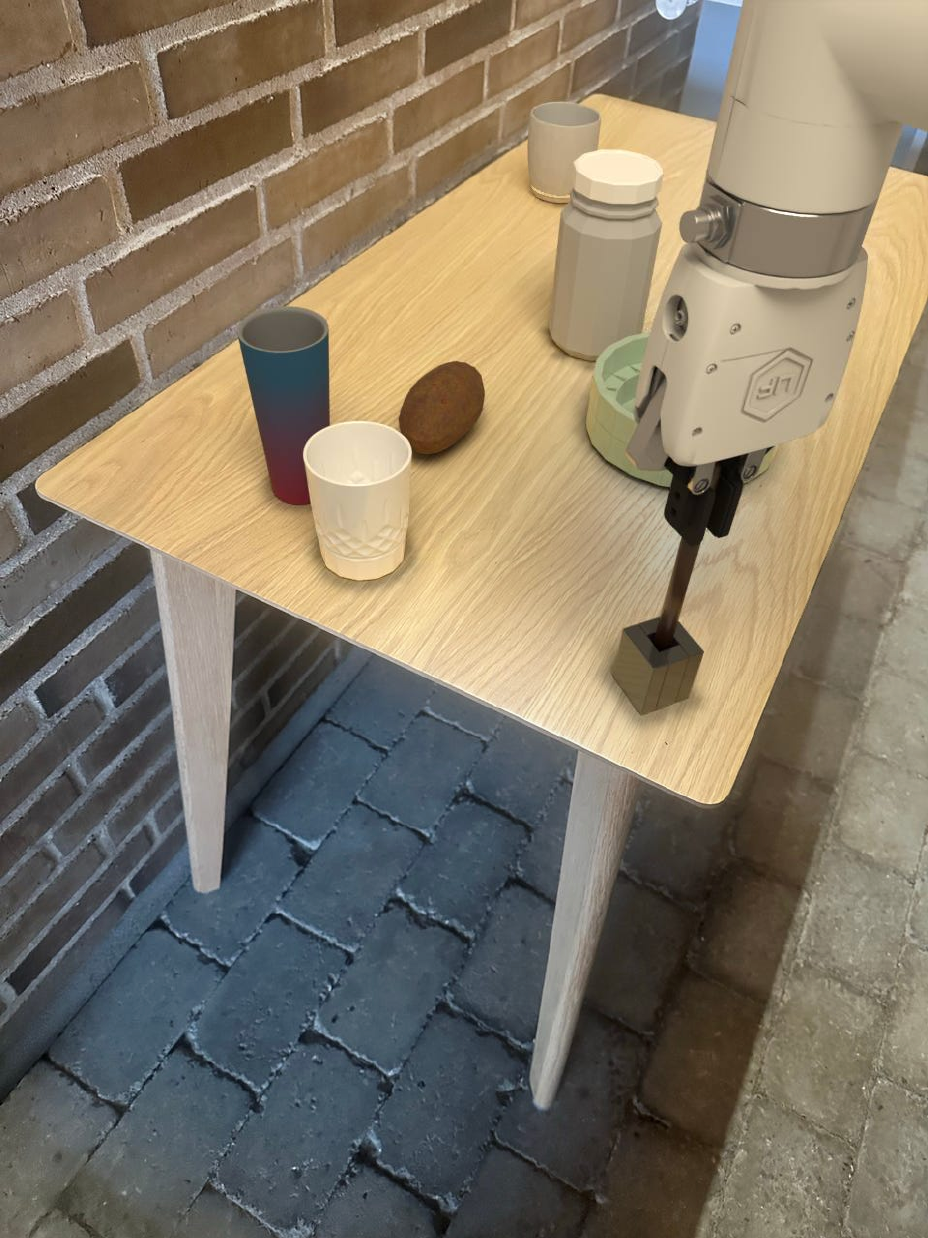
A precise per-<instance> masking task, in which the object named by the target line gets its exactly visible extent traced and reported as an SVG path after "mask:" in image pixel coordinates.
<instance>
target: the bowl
mask: <svg viewBox="0 0 928 1238" xmlns="http://www.w3.org/2000/svg"><path fill="white" fill-rule="evenodd" d="M649 335H650V331H646V332H642V333H641V334H637V335H632V336H628V337H626V338H624V339H622V340H620V341H618V342H616V343H614V344H612V345H610V346H608V347H607V348H606V350H605V351H604V352H603V353H602V354H601V355H600V356H599V357H598V358H597V360H596V361H595V364H594V369H593V373H592V379H591V387H590V393H589V399H588V406H587V412H586V420H585V428H586V431H587V433H588V437H589V440H590V442H591V445H592V446H593V447H594V448H595V449H596V450H597V452H599V454H600V455H601V456H602V457H603V458H604V459H605V460H606V461H608V462H609V463H610V464H612V465H613V466H616V467H617V468H619V469H620V470H621V471H623V472H625V473H626V474H628V475H629V476H632V477H634V478H637V479H639V480H643V481H645V482H648V483H650V484H651V483H652V484H654V485H656V486H662V487H668V488H670V485H671V481H672V477H673V475H672V474H671V473H670V472H669V471H668V470H662V471H648V470H639V469H638V468H637V467H636V466H635V465H634V464H633V463H632V462H631V461H630V460H629V459H628V458H627V457H626V455H625V451H626V448H627V446H628V444H629V442H630V440H631V438H632V436H633V434H634V432H635V430H636V428H637V426H638V423H637V422H636V421H635V419H634V413H633V412H634V404H635V396H636V390H637V384H638V379H639V375H640V370H641V366H642V361H643V357H644V353H645V350H646V346H647V342H648V338H649ZM779 447H780V444H778V445H775V446H774V447H773V448H772V449H771V450H770V451H769V452H768V453H767V454H766V455H765V456H764V458H763V461H762V463H761V466H760V468H759V471H758V473H757V474H756V475H755V477H753V478H752V479H751V480H749V481H744V482H743V484H745V483H748V482H750V481H752V480H753V479H755V478H756V477H758V476H759V475H760V474H762V473H764V472H766V471H767V470H768V469H769V467H770V465H771V463H772V462H773V460H774V458H775V457H776V454H777V452H778V450H779Z"/></svg>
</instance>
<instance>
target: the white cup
mask: <svg viewBox="0 0 928 1238" xmlns="http://www.w3.org/2000/svg"><path fill="white" fill-rule="evenodd" d="M412 450H413V449H412V448H411V446H410V444H409V442H408V440H407V439H406V438H405V436H404V435H402V434H401V431H399V430H397V429H395V428H394V427H392V426H389V425H387V424H383V423H379V422H376V421H369V420H348V421H341V422H338V423H337V422H336V423H334V424H330V426H328V427H326V428H324V429H322V430H320V431H318V432H317V433H315V434H314V435H313V436H312V437H311V438H310V439H309V440H308V442H307V443H306V445H305V447H304V451H303V459H304V465H305V470H306V476H307V483H308V489H309V495H310V501H311V503H310V505H311V510H312V511H311V512H312V516H313V520H314V521H313V522H314V527H315V533H316V535H317V537H318V544H319V551H320V555H321V558H322V560H323V562H324V564H325V567H326V568H327V569H329V570H330V571H331V572H333V573H334V574H336V575H337V576H339V577H340V578H345V579H348V580H353V581H359V582H360V581H369V580H370V581H371V580H377V579H380V578H382V577H384V576H386V575H388V574H392V573H393V572H394V571H395V570H396V569H397V568H398V567H399V566H400V565H401V564H402V563H403V562H404V557H405V553H406V552H405V551H406V543H407V542H406V541H407V537H406V536H407V531H408V527H409V526H408V525H409V514H410V513H409V512H410V499H411V479H412V477H411V474H412V457H413V456H412V455H413V451H412Z"/></svg>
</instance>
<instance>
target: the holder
mask: <svg viewBox="0 0 928 1238" xmlns="http://www.w3.org/2000/svg"><path fill="white" fill-rule="evenodd" d="M659 619H660V615H659V616H658V617H656V616H655V617H653V618H650V619H647V620H644V621H641V622H638V623H635V624H631V625H629V626H626V627H623V628H622V631H621V634H620V635H621V636H620V639H619V642H618V643H619V644H618V647H617V648H618V649H617V653H616V657H615V661H614V665H613V669H612V677H613V679H614V680H615V682H616V683H617V684H618V685H619V687H620V688H621V690H622V691H623V693H624V694H625V695H626V697H627V698H628V699H629V701H630V702H631V704H632V705H633V706H634V707H635V709H636V710H637V712H638V713H639V715H640V716H644V715H646V714H648V713H652V712H655V711H658V710H660V709H663V708H666V707H669V706H671V705H675V704H677V703H679V702H682V701H685V700H687V699H689V698H690V695H691V693H692V690H693V687H694V684H695V681H696V678H697V674H698V672H699V669H700V665H701V664H702V663H701V662H702V659H703V657H704V654H705V651H704V650H703V649H702V647H701V645H699V644H698V642H697V641H696V640H695V639H694V638H693V636H692V635H691V634H690V633H689V631H688V630H687V629H686V628H685V627H684V625H683V624H682V623H681V621H680V620H678V623H677V627H676V630H675V633H674V637H673V640H672V644H671V647H670V648H669V649H666V650H663V651H660V652H659V651H658V650H657V648H656V647H655V646H654V644H653V641H654V637H655V634H656V630H657V626H658V622H659Z"/></svg>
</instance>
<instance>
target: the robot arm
mask: <svg viewBox="0 0 928 1238" xmlns="http://www.w3.org/2000/svg"><path fill="white" fill-rule="evenodd" d="M715 125H716V126H715V129H714V135H713V138H712V142H711V143H712V144H711V147H710V152H709V157H708V162H707V166H706V171H705V175H704V180H703V185H702V189H701V194H700V199H699V203H698V206H697V207H696V208H695V209H692V210H687V211H684V212H683V213H682V215H681V217H680V219H679V226H678V229H679V234H680V237H681V240H682V241H683V242H685V244H682V246H681V248H680V250H679V253H678V255H677V257H676V259H675V261H674V264H673V266H672V268H671V271H670V274H669V276H668V279H667V280H666V281H667V282H666V284H665V287H664V289H663V292H662V295H661V298H660V301H659V302H658V303H659V304H658V306H657V308H656V312H655V316H654V318H653V322H652V325H651V329H650V331H649V332H650V335H649V338H648V342H647V346H646V350H645V353H644V357H643V361H642V366H641V370H640V375H639V379H638V384H637V390H636V396H635V404H634V419H635V421H636V422H637V423H638V426H637V428H636V430H635V432H634V434H633V436H632V438H631V440H630V442H629V444H628V446H627V448H626V451H625V455H626V457H627V458H628V459H629V460H630V461H631V462H632V463H633V464H634V465H635V466H636V467H637V468H638V469H639V470H648V471H662V470H668V471H669V472H670V473H671V474H672V475H673V477H672V481H671V485H670V487H669V489H668V493H667V497H666V501H665V505H664V510H663V517H664V519H665V520H666V522H667V524H668V525H669V526H670V527H671V529H673V530H674V531H675V532H676V533H677V534H678V535H679V536H680V537H682V538H683V539H684V540H685V542H686V543H687V544H688V545H689V546H691V547H692V546H696V545H699V544H700V545H701V544H702V542H703V540H704V537H705V534H706V531H707V530H708V531H709V532H710V533H711V534H712V536H713V537H715V538H717V539H721V538H724V537H728V536H729V534H730V532H731V528H732V525H733V522H734V519H735V515H736V512H737V509H738V506H739V503H740V500H741V497H742V494H743V491H744V487H745V485H744V483H743V482H744V481H748V482H750V481H752V480H753V479H754V478H753V477H755V475H756V474H757V473H758V471H759V468H760V466H761V463H762V461H763V458H764V456H765V455H766V454H767V453H768V452H769V451H770V450H771V449H772V448H773V447H774V446H775V445H778V444H779V445H782V444H785V443H789V442H792V441H795V440H798V439H801V438H805V437H808V436H809V435H811V434H813V433H815V432H816V431H818V430H819V429H821V428H822V427H823V426H824V425H825V424H826V422H827V420H828V418H829V416H830V414H831V412H832V409H833V406H834V404H835V402H836V399H837V396H838V393H839V390H840V388H841V384H842V382H843V378H844V375H845V372H846V368H847V366H848V362H849V358H850V354H851V351H852V348H853V345H854V341H855V338H856V333H857V330H858V325H859V321H860V317H861V312H862V307H863V303H864V298H865V290H866V284H867V278H868V277H867V275H868V274H867V273H868V265H869V264H868V263H869V255H868V251H867V250H866V249H865V248H864V246H863V244H864V241H865V238H866V236H867V232H868V230H869V227H870V224H871V221H872V218H873V216H874V212H875V210H876V207H877V204H878V201H879V198H880V194H881V193H882V189H883V187H884V183H885V181H886V178H887V176H888V173H889V170H890V167H891V164H892V162H893V158H894V155H895V153H896V150H897V147H898V144H899V141H900V138H901V135H902V133H903V129H904V127H905V126H909V127H911V128H913V129H917V130H921V131H923V132H926V133H928V0H742V2H741V8H740V13H739V17H738V22H737V26H736V31H735V34H734V41H733V45H732V50H731V54H730V59H729V64H728V69H727V73H726V78H725V82H724V88H723V92H722V98H721V102H720V107H719V110H718V117H717V120H716V124H715ZM716 461H720V462H721V465H722V472H721V475H720V479H719V482H718V486H717V489H716V493H715V492H714V490H713V489H712V488H711V487H710V484H711V481H712V476H713V471H714V467H715V462H716ZM752 478H753V479H752ZM755 478H756V477H755ZM751 479H752V480H751ZM749 480H750V481H749Z"/></svg>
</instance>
